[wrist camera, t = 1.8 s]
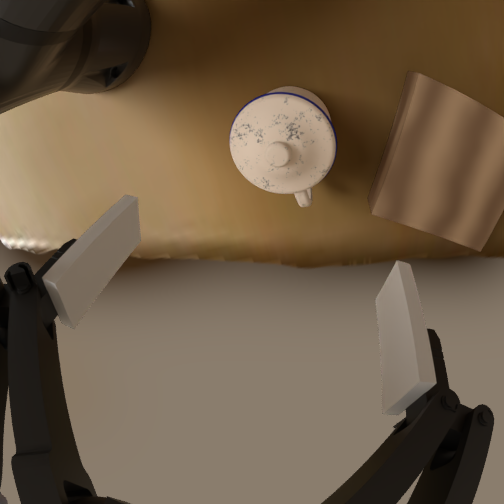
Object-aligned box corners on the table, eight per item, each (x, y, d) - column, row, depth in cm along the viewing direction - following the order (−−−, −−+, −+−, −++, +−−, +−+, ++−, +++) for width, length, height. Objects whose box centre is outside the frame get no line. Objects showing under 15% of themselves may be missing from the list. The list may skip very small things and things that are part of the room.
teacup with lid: (239, 97, 30) (200, 118, 21) (320, 75, 27) (320, 83, 18) (272, 191, 36) (252, 247, 27) (347, 176, 33) (356, 230, 24)
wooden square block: (367, 198, 34) (371, 214, 31) (407, 70, 24) (419, 73, 21) (470, 234, 33) (480, 251, 30) (516, 128, 23) (533, 138, 20)
